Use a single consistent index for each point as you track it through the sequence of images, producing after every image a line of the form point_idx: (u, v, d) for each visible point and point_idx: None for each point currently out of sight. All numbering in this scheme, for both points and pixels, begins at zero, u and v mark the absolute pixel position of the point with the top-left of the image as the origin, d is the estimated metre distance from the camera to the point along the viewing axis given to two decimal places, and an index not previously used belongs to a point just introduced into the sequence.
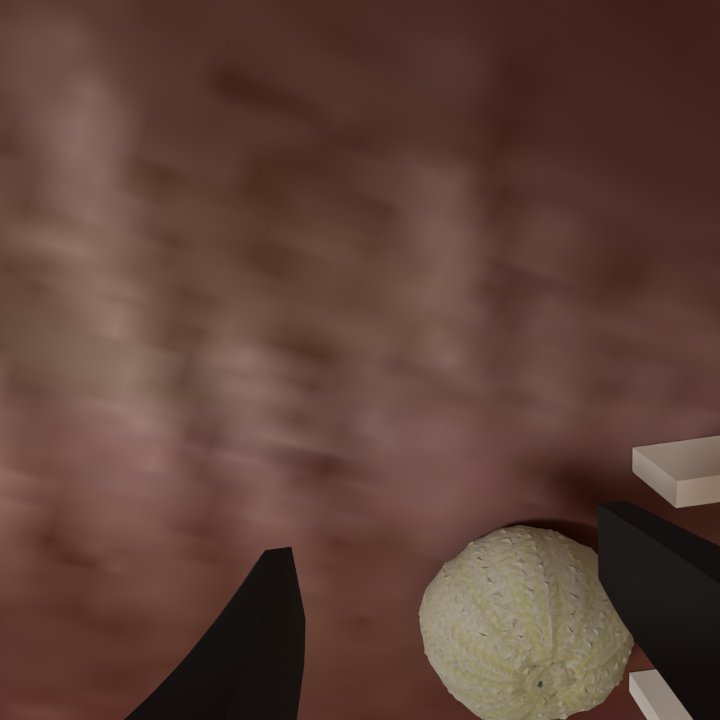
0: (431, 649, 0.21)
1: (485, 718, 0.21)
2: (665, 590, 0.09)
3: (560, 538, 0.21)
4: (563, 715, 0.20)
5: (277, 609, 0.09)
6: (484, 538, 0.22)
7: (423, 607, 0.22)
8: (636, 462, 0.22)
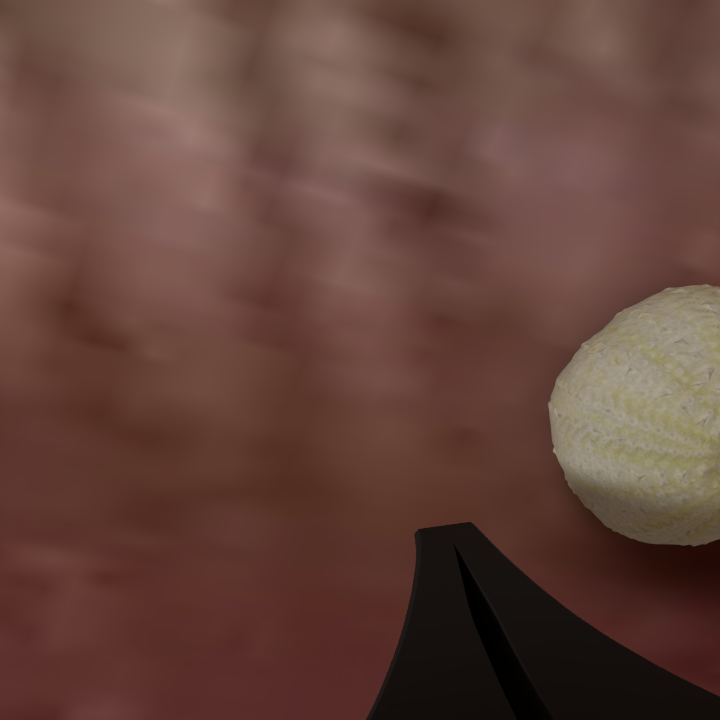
0: (576, 437, 0.16)
1: (648, 530, 0.16)
2: (477, 616, 0.09)
3: None
4: None
5: None
6: (639, 302, 0.16)
7: (560, 392, 0.16)
8: None
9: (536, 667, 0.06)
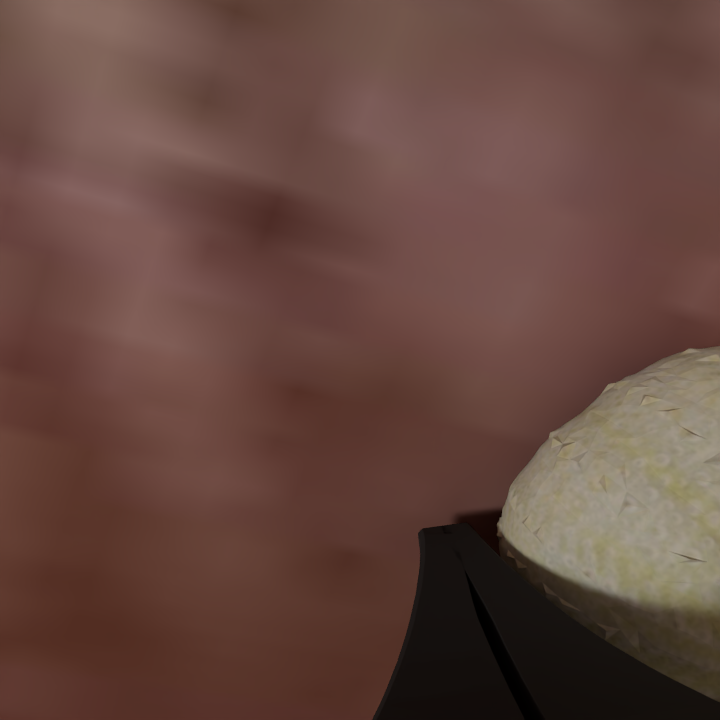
0: None
1: None
2: None
3: None
4: None
5: None
6: (643, 370, 0.10)
7: (512, 516, 0.10)
8: None
9: (528, 668, 0.06)
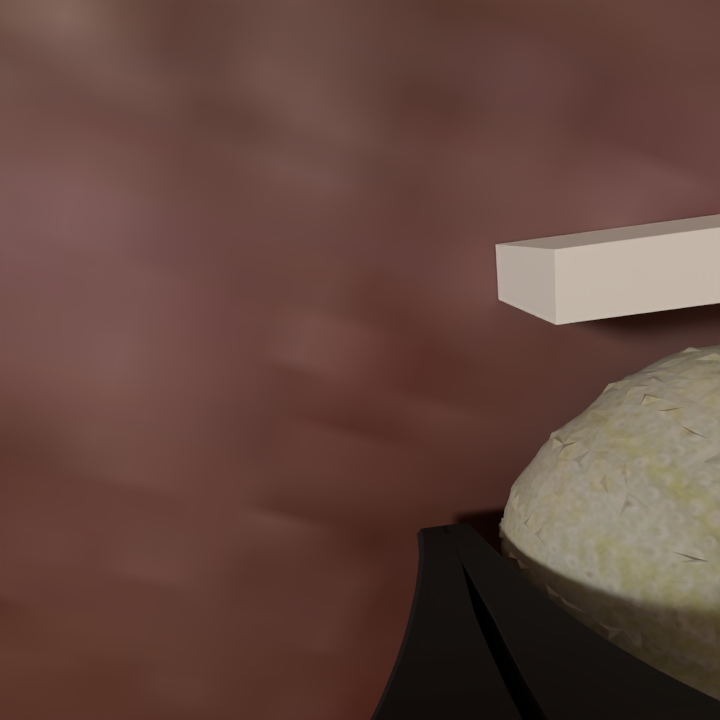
0: None
1: None
2: None
3: None
4: None
5: None
6: (643, 370, 0.10)
7: (514, 517, 0.10)
8: (501, 273, 0.10)
9: (531, 668, 0.06)
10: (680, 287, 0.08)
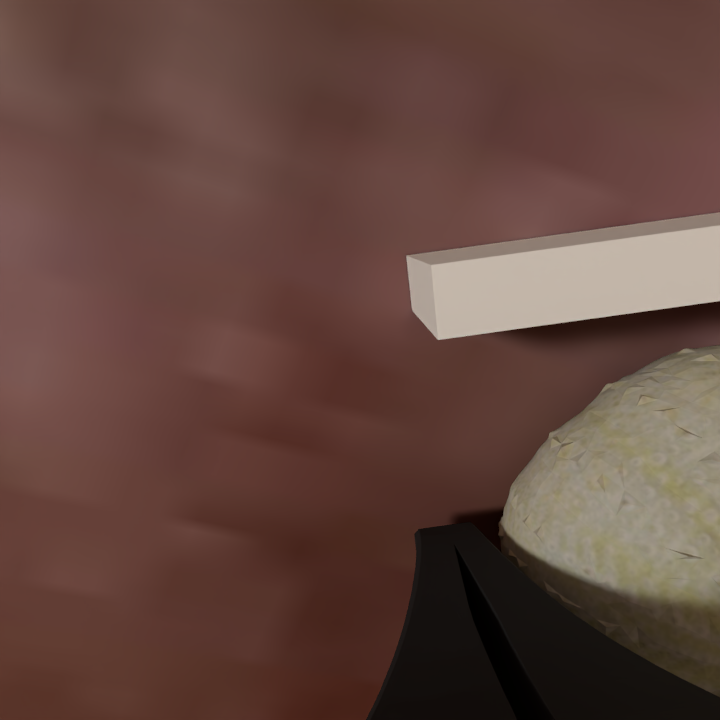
0: None
1: None
2: (477, 616, 0.09)
3: None
4: None
5: None
6: (640, 371, 0.10)
7: (513, 515, 0.10)
8: (411, 284, 0.10)
9: (536, 667, 0.06)
10: (560, 302, 0.08)
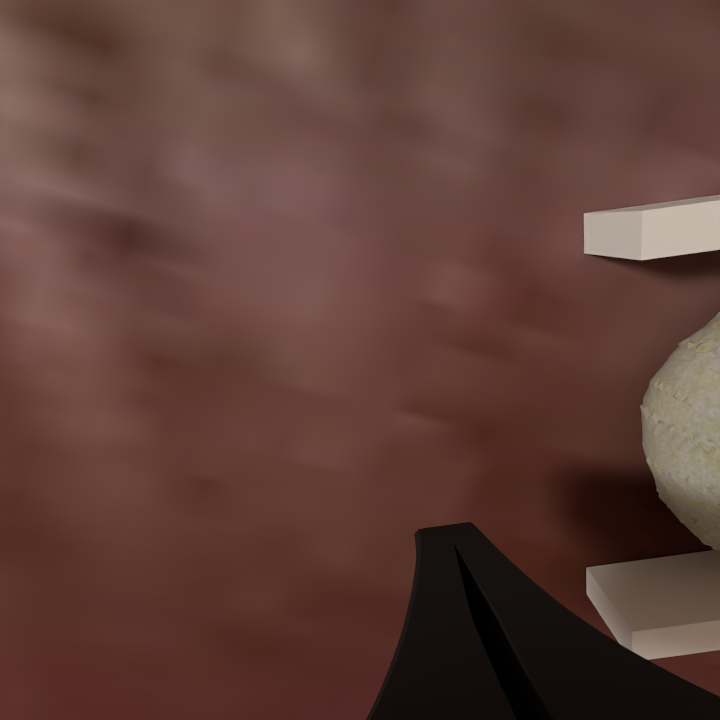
0: (684, 447, 0.14)
1: None
2: (477, 616, 0.09)
3: None
4: None
5: None
6: None
7: (661, 395, 0.15)
8: (588, 233, 0.15)
9: (536, 667, 0.06)
10: None
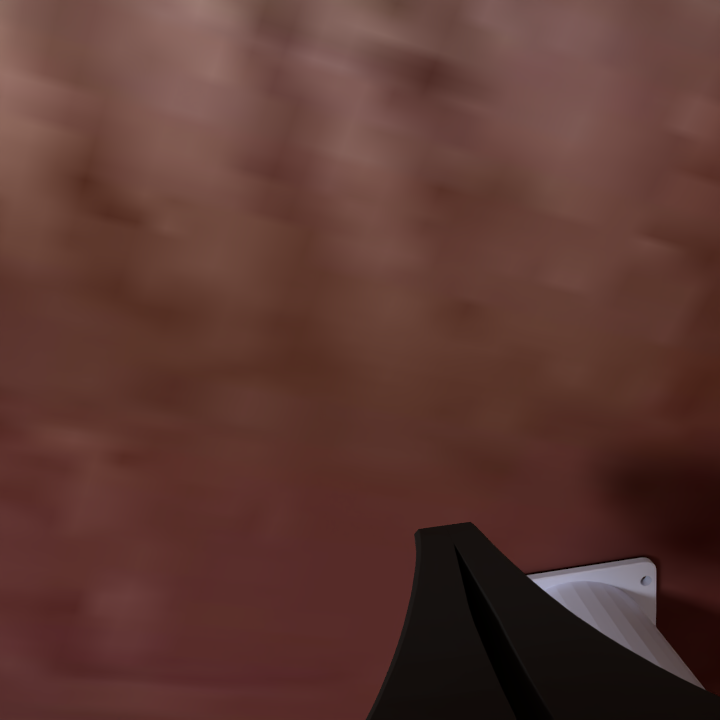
0: None
1: None
2: (477, 616, 0.09)
3: None
4: None
5: None
6: None
7: None
8: None
9: (536, 667, 0.06)
10: None
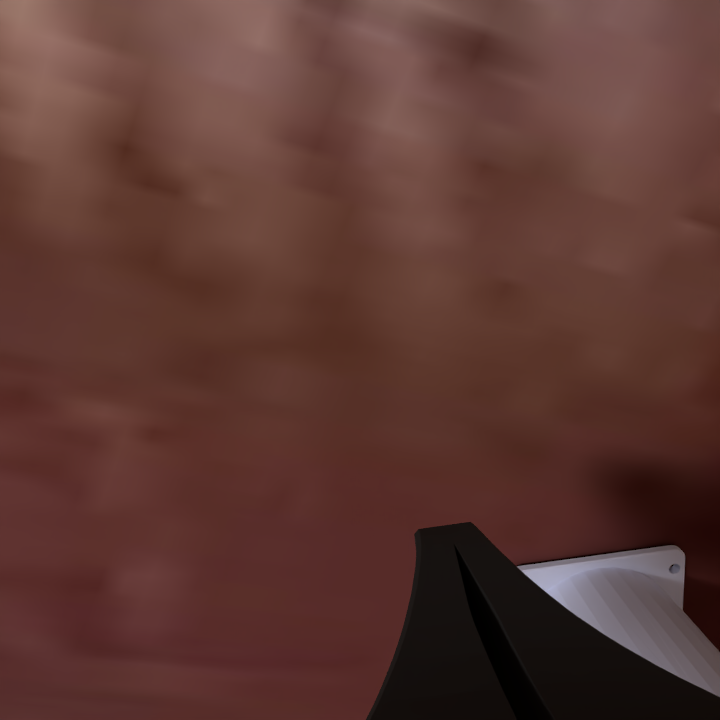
0: None
1: None
2: (477, 616, 0.09)
3: None
4: None
5: None
6: None
7: None
8: None
9: (536, 667, 0.06)
10: None
